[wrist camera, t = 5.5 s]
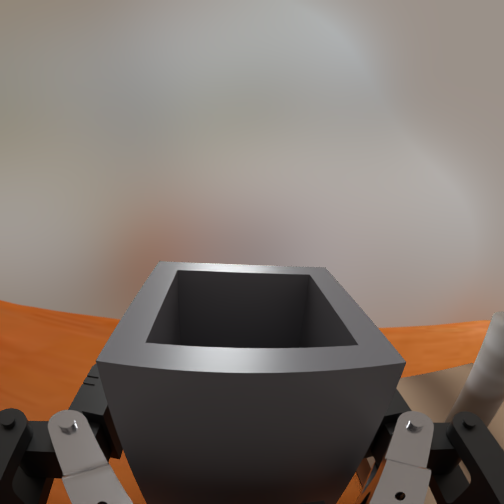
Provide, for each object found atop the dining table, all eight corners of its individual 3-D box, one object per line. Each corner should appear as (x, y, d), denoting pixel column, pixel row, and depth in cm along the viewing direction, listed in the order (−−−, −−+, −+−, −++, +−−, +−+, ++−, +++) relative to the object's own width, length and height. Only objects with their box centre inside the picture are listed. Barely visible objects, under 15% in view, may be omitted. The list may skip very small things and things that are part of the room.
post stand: (393, 570, 5) (529, 457, 3) (329, 403, 17) (359, 278, 15) (547, 474, 6) (624, 356, 4) (465, 378, 18) (501, 277, 16)
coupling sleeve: (165, 539, 8) (96, 360, 5) (176, 442, 13) (159, 261, 11) (312, 537, 8) (406, 362, 5) (290, 443, 14) (325, 267, 11)
